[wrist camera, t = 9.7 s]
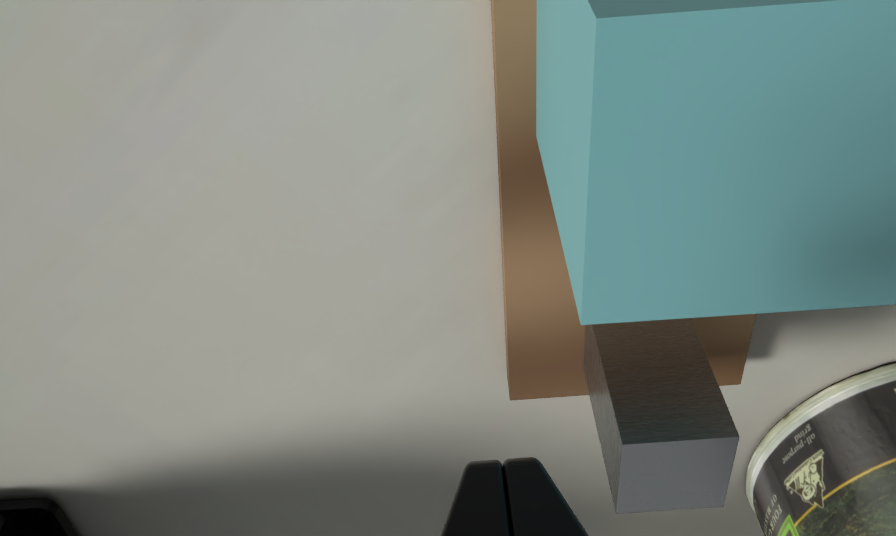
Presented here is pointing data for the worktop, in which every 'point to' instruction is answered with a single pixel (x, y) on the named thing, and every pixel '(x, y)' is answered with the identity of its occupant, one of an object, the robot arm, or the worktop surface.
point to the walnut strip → (554, 240)
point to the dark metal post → (658, 415)
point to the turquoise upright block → (720, 154)
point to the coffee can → (831, 463)
